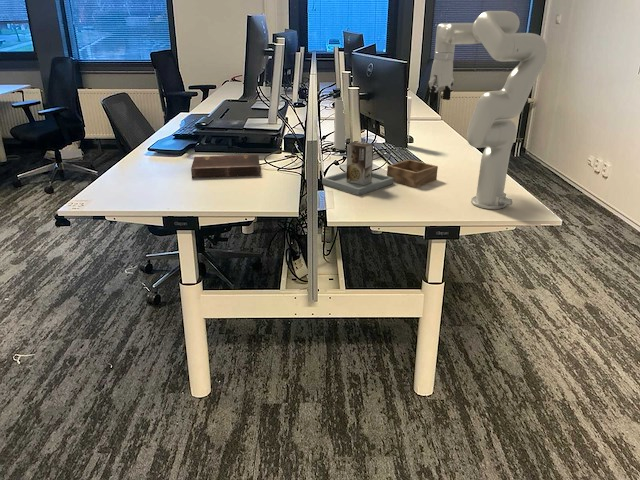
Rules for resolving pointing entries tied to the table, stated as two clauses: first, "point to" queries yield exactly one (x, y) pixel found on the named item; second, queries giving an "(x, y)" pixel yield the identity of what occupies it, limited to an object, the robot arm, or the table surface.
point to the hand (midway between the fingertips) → (439, 100)
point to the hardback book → (225, 166)
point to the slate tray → (357, 189)
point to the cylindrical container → (409, 113)
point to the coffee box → (359, 162)
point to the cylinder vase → (339, 125)
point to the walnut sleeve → (412, 173)
